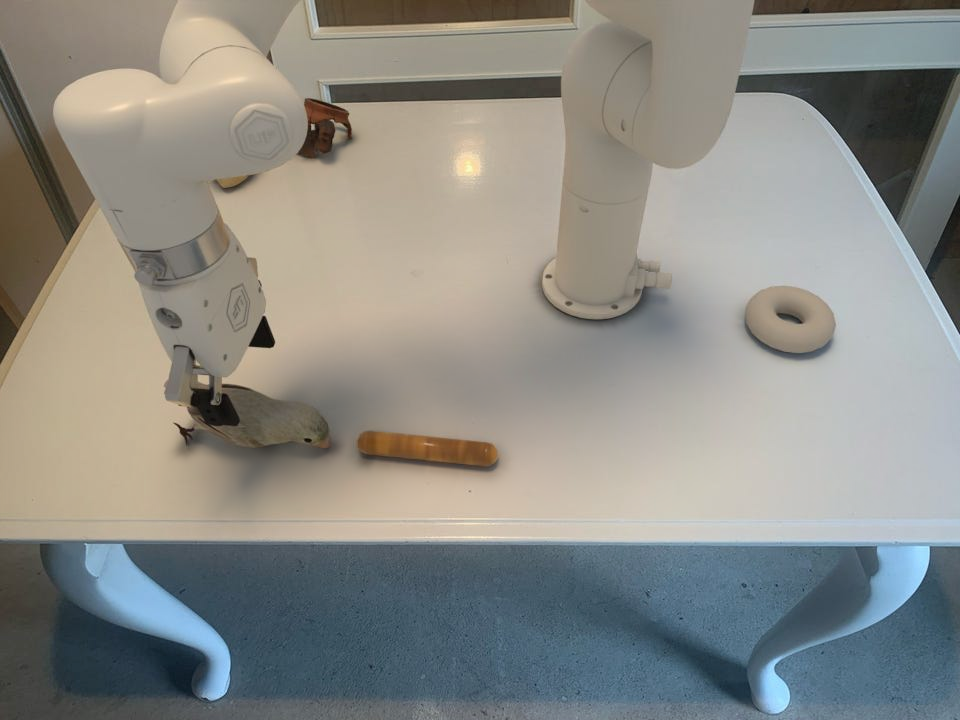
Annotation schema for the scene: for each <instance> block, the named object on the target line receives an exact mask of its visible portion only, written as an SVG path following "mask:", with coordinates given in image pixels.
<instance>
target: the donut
mask: <svg viewBox="0 0 960 720" xmlns="http://www.w3.org/2000/svg"><path fill="white" fill-rule="evenodd" d="M744 314H745V317H744V318H745V323H746V325H747V327H748V328H749V331H750V332H751V334H752V335H754V336H755V337H756V338H757V339H758V341H760V342H761V343H762V344H765V345H767V346H769V347H770V348H772V349H774V350H778V351H780V352H784V353H793V354H804V353H812V352H814V351H817V350H819V349H821V348H823V347H825V346H826V344H828V343H829V342H830V340H832V338H833V337H834V333H835V330H836V327H837V323H836V318H835V313H834V311H833V310H832V309H831V307H830V306H829V305H828V303H827V302H826V301H824V300H823V299H822V298H821V297H820V296H818V295H817V294H815V293H813V292H811V291H810V290H808V289H803V288H800V287H798V286H792V285H776V286H775V285H773V286H768V287H766V288H763V289H761V290H759V291H758V292H756V293H755V294H754V295H753V296H752V297H750V299H749V300H748V302H747V304H746V307H745V310H744ZM777 314H785V315H789V316H793V317H795V318H796V319H799V321H801V322H802V323H792V322H789V321H787V320H784V319H782V318H781V317H779V316H778V315H777Z"/></svg>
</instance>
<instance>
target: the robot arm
mask: <svg viewBox="0 0 960 720" xmlns="http://www.w3.org/2000/svg"><path fill="white" fill-rule="evenodd" d="M300 1H301V0H177V2H176V4H175V7H174V9H173V11H172V13H171V15H170V18H169V21H168V22H167V25H166V27H165V29H164V33H163V36H162V40H161V43H160V50H159V58H158V66H159V75H160V77H159V76H157V75H156V74H154V73H152V72H149V71H147V70H143V69H139V68H114V69H106V70H103V71H99V72H95V73H91V74H89V75H85V76H83V77H81V78H79V79H77V80H74V82H72V83H70V84H67V86H66V87H64V88H63V89H62V90H61V91H60V93H59V94H58V95H57V97H56V98H55V100H54V104H53V108H52V115H53V120H54V124H55V127H56V129H57V131H58V133H59V135H60V137H61V139H62V141H63V142H64V144H65V146H66V148H67V150H68V152H69V153H70V155H71V157H72V159H73V161H74V164H76V167H77V168H78V170H79V172H80V174H81V175H82V176H81V177H83V179H84V181H85V183H86V185H87V187H88V188H89V190H90V192H91V195H93V198H94V199H95V201H96V203H97V205H98V206H99V208H100V210H101V213H102V214H103V215H104V218H105V219H106V221H107V223H108V225H109V227H110V229H111V230H112V233H113V234H114V236H115V237H116V240H117V241H118V243H119V245H120V247H121V249H122V251H123V252H124V254H125V256H126V259H127V260H128V262H129V264H130V265H131V267H132V269H133V271H134V272H135V273H134V274H133V275H134V276H133V277H134V279H135V281H136V282H137V283H138V287H139V289H140V293H141V297H142V299H143V303H144V305H145V308H146V311H147V314H148V317H149V319H150V322H151V324H152V326H153V328H154V331H155V333H156V335H157V337H158V339H159V341H160V343H161V345H162V348H163V349H164V351H165V353H166V356H167V357H168V359H169V360H170V362H171V365H170V369H169V374H168V379H167V380H168V383H167V388H165V389H166V393H165V394H164V398H165V401H166V402H169V403H172V404H175V405H177V406H179V407H186V408H187V407H197V409H198V411H199V412H200V414H201V416H202V418H203V419H204V421H205V422H206V423H208V424H210V425H212V426H223V425H226V426H238V424H239V422H240V419H239V416H238V414H237V412H236V410H235V408H234V406H233V404H232V402H231V400H230V398H229V396H228V395H227V394H225V393H222V384H223V378H228V377H230V376H231V375H233V374H234V372H236V370H237V369H238V367H239V365H240V363H241V362H242V360H243V358H244V356H245V354H246V352H247V350H248V348H259V349H272V348H274V347H275V345H276V339H275V337H274V334H273V331H272V328H271V326H270V324H269V321H268V319H267V316H266V315H265V312H266V307H267V299H266V296H265V294H264V291H263V288H262V286H263V285H262V283H261V280H260V279H259V271H258V261H257V258H256V257H249V256H248V254H247V253H246V250H245V249H244V247H243V246H242V244H241V242H240V241H239V239H238V237H237V236H236V234H235V233H234V231H232V229H231V228H230V226H229V225H228V224H227V223H226V222H225V221H224V220H223V217H222V214H221V212H220V209H219V206H218V205H217V202H216V199H215V197H214V193H213V191H212V189H211V187H210V184H209V181H215V180H216V179H222V178H231V177H239V176H246V175H249V176H252V175H258V174H262V173H267V172H269V171H272V170H275V169H278V168H280V167H281V166H284V165H286V164H287V163H288V162H289V161H291V160H292V159H294V157H295V156H296V155H297V154H299V153H298V152H299V150H300V149H301V147H302V145H303V144H304V142H305V138H306V135H307V129H308V118H307V113H306V110H305V106H304V102H303V100H302V98H301V96H300V94H299V93H298V91H297V90H296V88H295V87H294V86H293V84H292V83H291V82H290V81H289V80H288V79H287V78H286V77H285V76H284V74H282V72H281V71H279V70H278V69H277V67H275V65H273V63H272V62H271V60H269V59H268V58H267V57H268V55H269V53H270V51H271V48H272V46H273V44H274V43H275V41H276V38H277V37H278V34H279V32H280V31H281V29H282V28H283V25H284V24H285V22H286V21H287V19H288V17H289V16H290V15H291V13H292V11H293V10H294V9H295V8H296V6H297V5H298V4H299V3H300ZM585 2H586V3H587V4H588V6H589V7H591V9H593V10H594V11H595V12H597V13H598V14H600V15H601V16H603V17H605V18H606V19H608V20H610V21H604V22H600V23H596V24H594V25H592V26H590V27H588V28H586V29H585V30H584V31H582V32H581V33H580V34H579V35H578V36H577V37H576V38H575V39H574V41H573V42H572V44H571V45H570V46H569V49H568V51H567V53H566V56H565V58H564V61H563V63H562V64H563V65H562V69H561V75H560V76H561V77H560V94H561V95H560V99H561V108H562V115H563V123H564V161H563V163H564V164H563V176H562V182H561V183H562V184H561V195H560V207H559V208H560V209H559V219H558V222H559V223H558V232H557V242H556V244H557V245H556V256H555V258H553V259H552V260H551V261H550V262H549V263H548V264H546V266H545V268H544V270H543V273H542V279H541V286H542V291H543V294H544V296H545V297H546V299H547V300H548V301H549V303H551V304H552V305H553V307H555V308H557V309H558V310H560V311H561V312H563V313H566V314H567V315H569V316H573V317H576V318H579V319H585V320H605V319H613V318H616V317H619V316H622V315H624V314H626V313H628V312H629V311H631V310H632V309H633V308H635V306H636V305H637V304H638V303H639V302H640V299H641V297H642V293H643V290H644V289H645V287H649V288H655V289H665V290H670V289H671V287H672V278H673V277H672V275H673V273H672V272H660V271H661V262H660V261H653V260H650V261H649V260H648V261H647V260H646V261H645V260H642V259H641V258H638V248H639V242H640V236H641V232H642V227H643V220H644V216H645V211H646V205H647V200H648V194H649V191H650V186H651V180H652V176H653V167H654V165H656V166H659V167H661V168H665V169H670V170H680V169H685V168H688V167H689V168H690V167H691V166H693V165H696V164H697V163H699V162H700V161H701V160H703V159H704V158H706V156H707V155H709V153H710V152H711V151H712V150H713V148H714V147H715V146H716V144H717V143H718V141H719V139H720V138H721V135H722V134H723V132H724V130H725V127H726V125H727V122H728V119H729V117H730V114H731V111H732V109H733V103H734V100H735V96H736V95H735V94H736V91H737V90H736V89H737V86H738V81H739V77H740V72H741V68H742V63H743V59H744V53H745V50H746V44H747V39H748V34H749V29H750V25H751V21H752V16H753V10H754V6H755V0H585ZM653 164H654V165H653ZM197 364H199V365H197ZM199 376H208V384H209V389H198V382H199Z"/></svg>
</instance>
